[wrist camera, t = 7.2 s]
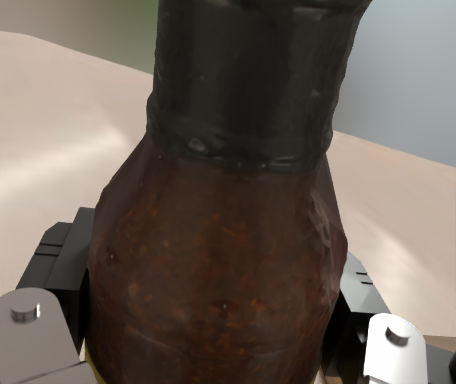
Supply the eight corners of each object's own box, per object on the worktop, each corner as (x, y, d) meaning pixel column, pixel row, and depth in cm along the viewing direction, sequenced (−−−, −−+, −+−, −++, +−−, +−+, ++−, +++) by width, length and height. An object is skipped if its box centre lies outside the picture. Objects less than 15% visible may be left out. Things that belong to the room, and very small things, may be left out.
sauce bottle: (254, 460, 19) (435, -50, 10) (246, 663, 13) (647, -100, 4) (108, 429, 19) (161, -108, 10) (38, 618, 13) (20, -232, 4)
